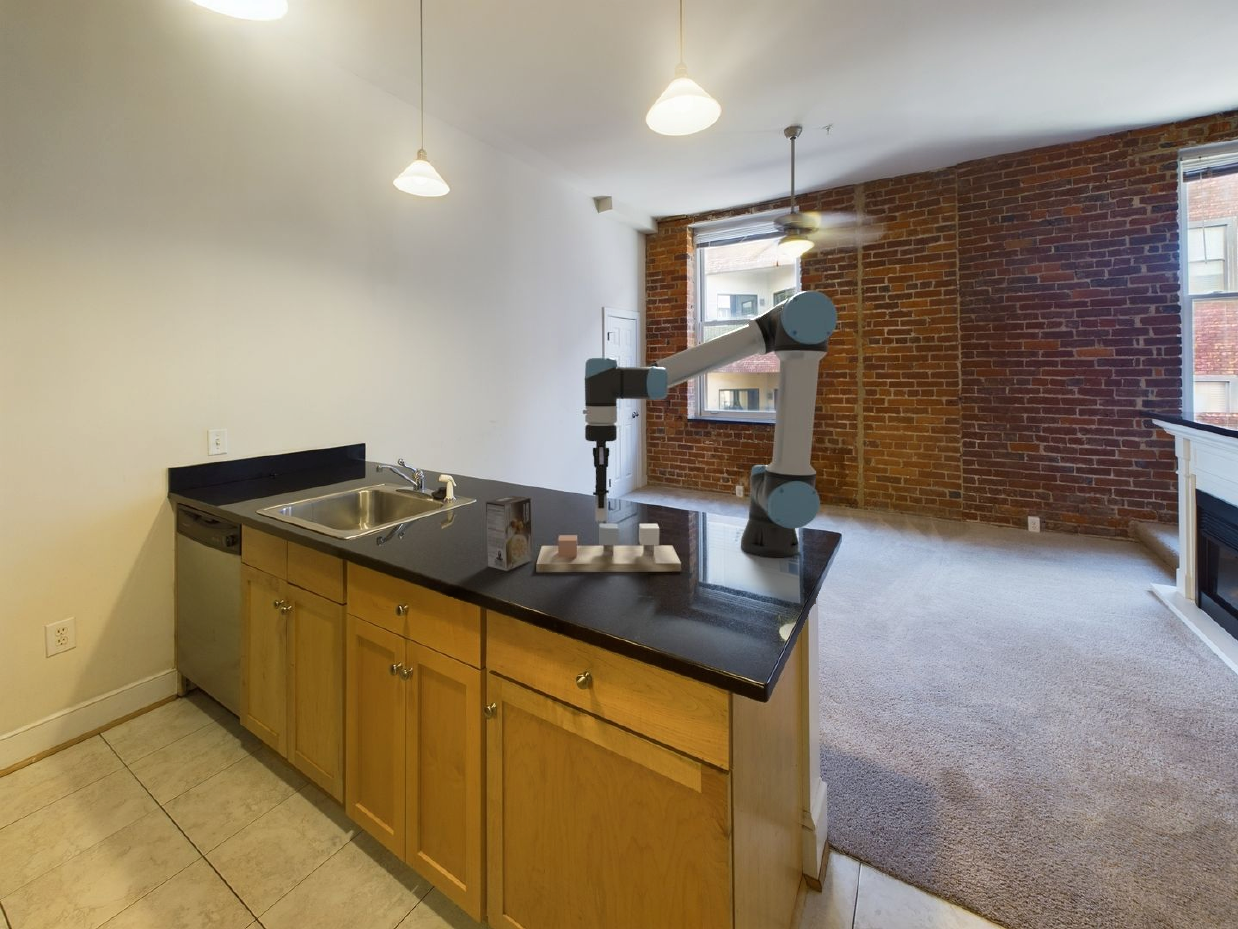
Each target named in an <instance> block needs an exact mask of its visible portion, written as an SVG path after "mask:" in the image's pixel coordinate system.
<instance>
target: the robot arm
mask: <svg viewBox="0 0 1238 929" xmlns="http://www.w3.org/2000/svg"><path fill="white" fill-rule="evenodd" d="M837 322H838V312H837V309H836V306H835V303H834V302H833V301H832V300H831V299H830V297H829V296H827V295H826V294H824V293H822V292H820V291H816V290H805V291H799V292H796V293H795V294H792V295H791V296H790V297H788V298H787V299H785V300H783V301H781V302H779V303H778V304H776V305H775V306H774V307H772V308H770V309H768V310H767V311H766V312H764V313H762V314H760V315H758V316H755V317H754V318H750V319H749V320H748V323H747V324H746V325H744V326H742V327H739V328H737V329H734V330H731V331H729V332H727V333H724V334H722V335H719V336H717V337H714V338H712V339H710V340H707V341H705V342H702V343H699V344H698V345H695V346H692V347H690V348H687V349H685V350H683V351H680V352H678V353H675V354H672V355H670V356H667V357H664V358H662V359H659V360H658V361H655V362H653V363H649V364H647V365H645V366H630V367H627V366H626V367H625V366H618V360H617V359H616V358H613V357H612V358H611V357H606V358H605V357H591V358H588V359H587V360H586V361H585V366H584V367H585V370H584V373H585V374H584V402H585V403H584V404H585V405H584V406H585V409H584V410H582V414H583V415H585V417H584V418H585V419H584V420H585V423H587V424H586V425H585V427H584V438H585V440H586V441H588V442H595V443H596V444H595V446H596V447H592V456H593V467H594V468H595V487H594V488H595V491H593V492H592V495H593V496H595V497H594V498H595V500H594V503H595V509H594V510H595V512H594V514H595V522H607V521H608V520H607V518H608V516H607V515H608V514H607V513H608V512H607V510H608V509H607V503H608V502H607V500H608V499H607V494H609V493H610V490H609V489H607V474H608V473H607V472H608V471H607V468H608V467H609V456H610V447H607V442H614V441H616V440H617V437H618V435H617V432H618V430H617V429H618V428H617V427H618V426H617V425H616V423H617V421H618V405H617V404H618V403H617V401H618V400H625V399H626V400H652V401H654V400H655V401H656V400H664V399H666V398H667V397H668V390H669V388H673V387H675V386H678V385H680V384H683V383H685V382H688V381H690V380H693V379H696V378H699V377H700V376H703V375H705V374H708V373H711V372H713V371H716V370H718V369H721V368H723V367H726V366H728V365H731V364H733V363H736V362H739V361H741V360H743V359H746V358H749V357H751V356H754V355H756V354H758V355H760V356H764V355H767V354H770V353H774V355H775V356H776V357H777V358H778V359H779V370H778V372H779V375H778V385H777V395H776V396H777V399H776V408H775V409H776V411H775V412H776V413H775V423H774V434H773V436H774V437H773V448H772V450H773V452H772V460H771V462H770V463H769V464H763V465H762V464H756V465H754V466H752V467H751V472H750V473H751V474H750V477H749V478H750V486H749V488H750V489H749V505H748V506H749V508H748V510H749V511H748V512H749V513H748V520H747V523H746V524H745V525H746V526H745V528H744V531H743V532H742V536H741V539H740V548H741V549H742V550H743V551H745V552H747V553H750V554H752V555H755V556H759V557H760V556H761V557H768V558H789V557H793V556H796V555H797V553H798V554H799V553H800V552H799V551H800V543H799V538H798V535H797V532H796V529H799V528H803V527H805V526H807V525H809V523H811V522H813V520H815V518H816V517H817V515H818V514H819V511H820V506H821V501H820V500H821V499H820V496H819V493H818V491H817V490H816V488H815V487H816V478H817V476H816V475H817V471H816V470H815V469H814V467H812V465H811V458H812V457H811V456H812V444H813V435H814V434H813V433H814V422H815V411H816V410H815V409H816V400H817V390H818V389H817V388H818V379H819V378H818V377H819V368H820V367H819V366H820V361H821V360H822V359H823V358H824V357H825V356H826V355H827V353H828V345H829V337H831V335H832V334H833V332H834V331H835V329H836V327H837Z"/></svg>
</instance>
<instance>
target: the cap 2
mask: <svg viewBox="0 0 1238 929" xmlns="http://www.w3.org/2000/svg"><path fill="white" fill-rule="evenodd" d="M638 524H639V525H638V541H639V546H643V545H654V546H660V527H659V524H658V523H638Z"/></svg>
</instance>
